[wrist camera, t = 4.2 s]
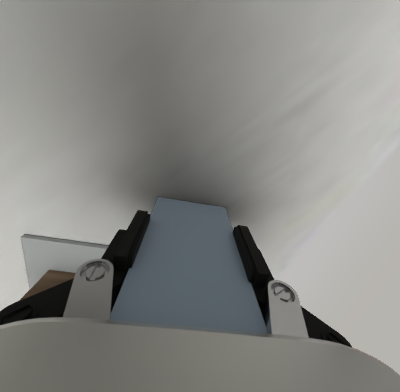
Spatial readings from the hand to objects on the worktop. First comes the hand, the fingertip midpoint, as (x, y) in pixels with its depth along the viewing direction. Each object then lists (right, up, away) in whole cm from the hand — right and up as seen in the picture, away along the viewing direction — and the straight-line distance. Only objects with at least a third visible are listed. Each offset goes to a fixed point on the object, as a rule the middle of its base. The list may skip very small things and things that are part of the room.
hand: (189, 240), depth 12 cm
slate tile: (0, +1, +3) cm, 4 cm away
